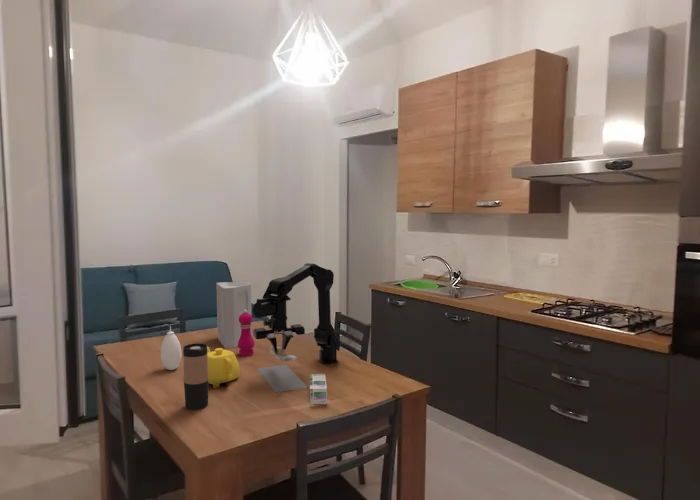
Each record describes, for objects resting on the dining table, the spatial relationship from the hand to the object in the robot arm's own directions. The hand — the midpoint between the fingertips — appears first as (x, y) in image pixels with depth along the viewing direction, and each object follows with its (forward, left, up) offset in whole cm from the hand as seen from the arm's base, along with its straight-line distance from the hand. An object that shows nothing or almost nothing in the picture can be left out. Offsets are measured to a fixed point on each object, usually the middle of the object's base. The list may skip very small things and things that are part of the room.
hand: (279, 353), depth 188 cm
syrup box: (-10, +16, -7) cm, 20 cm away
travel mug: (+32, +14, -10) cm, 36 cm away
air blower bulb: (+37, -28, -10) cm, 48 cm away
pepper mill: (+5, -37, -10) cm, 39 cm away
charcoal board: (0, +2, -10) cm, 10 cm away
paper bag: (+5, -60, -10) cm, 61 cm away
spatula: (0, +2, -1) cm, 2 cm away
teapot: (+22, -7, -10) cm, 25 cm away
